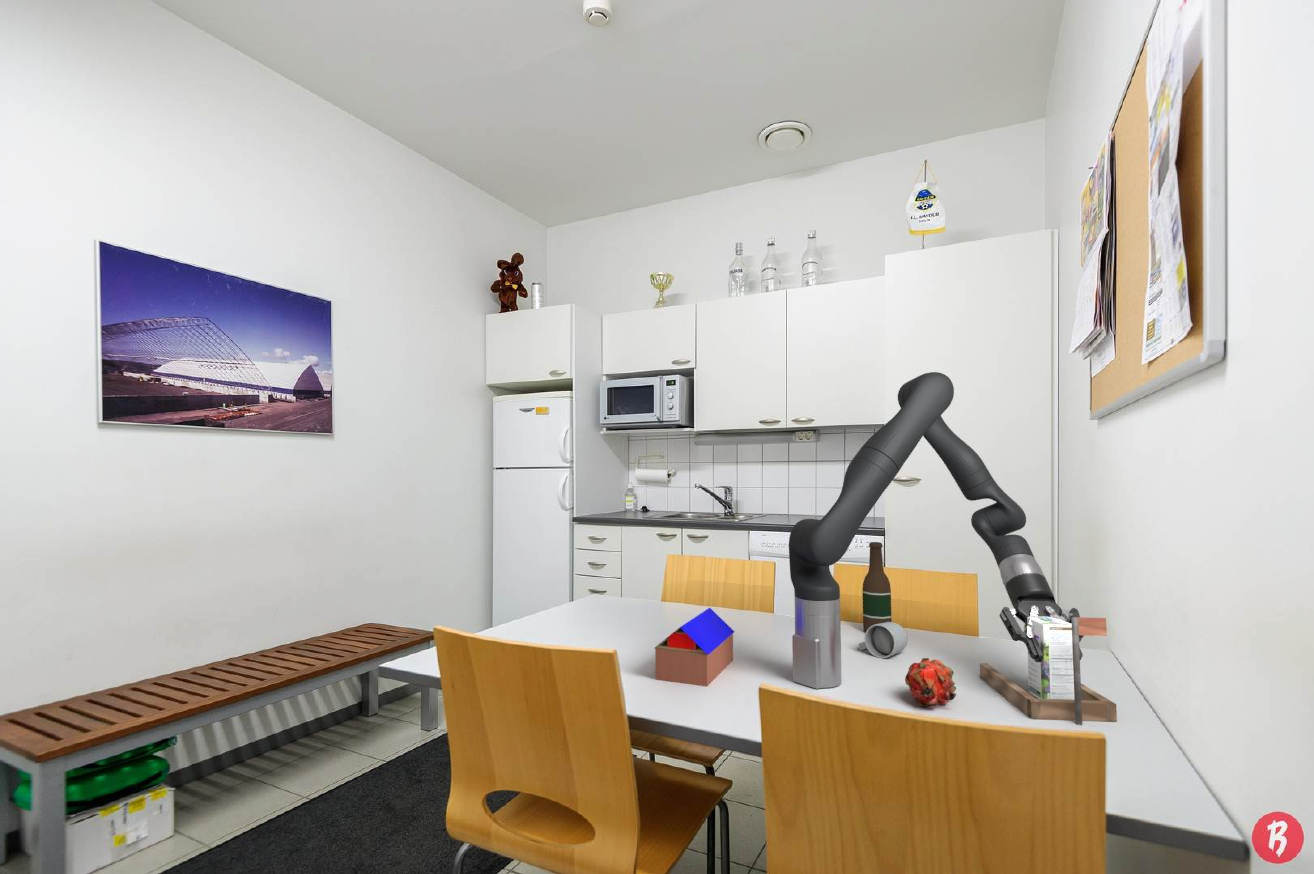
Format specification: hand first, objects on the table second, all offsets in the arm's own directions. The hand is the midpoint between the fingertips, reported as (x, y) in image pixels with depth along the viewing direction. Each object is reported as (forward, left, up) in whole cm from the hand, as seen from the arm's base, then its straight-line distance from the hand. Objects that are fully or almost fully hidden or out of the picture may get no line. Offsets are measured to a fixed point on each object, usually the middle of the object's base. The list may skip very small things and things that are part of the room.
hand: (1058, 660), depth 114 cm
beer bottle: (+25, +52, -9) cm, 58 cm away
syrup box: (+2, +2, -8) cm, 8 cm away
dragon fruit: (-14, +17, -9) cm, 24 cm away
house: (-34, +60, -9) cm, 70 cm away
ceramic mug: (+8, +40, -9) cm, 42 cm away
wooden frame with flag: (+4, +4, -9) cm, 11 cm away
